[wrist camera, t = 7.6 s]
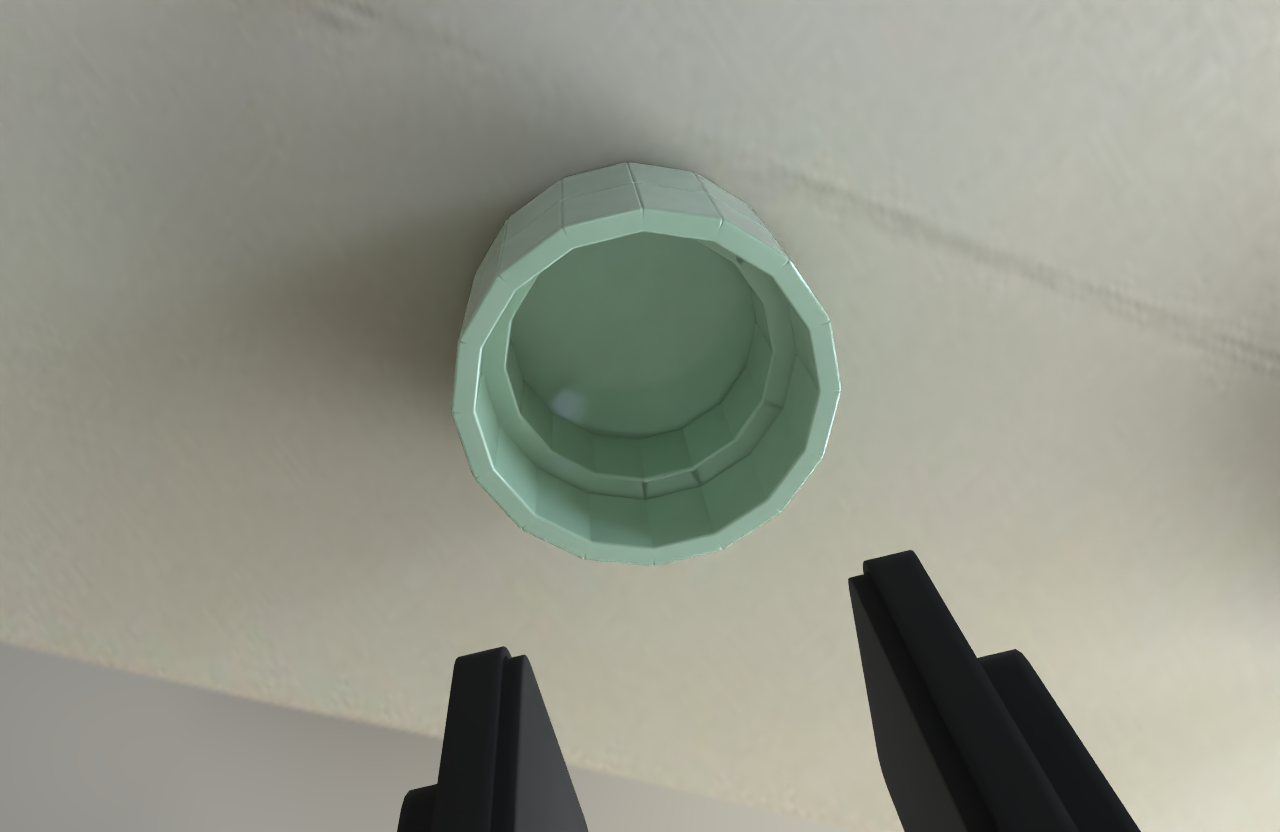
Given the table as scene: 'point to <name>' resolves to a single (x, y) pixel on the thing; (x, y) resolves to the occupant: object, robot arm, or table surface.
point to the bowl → (642, 368)
